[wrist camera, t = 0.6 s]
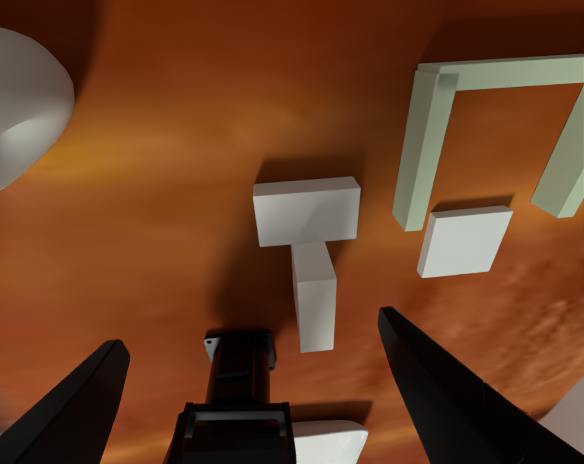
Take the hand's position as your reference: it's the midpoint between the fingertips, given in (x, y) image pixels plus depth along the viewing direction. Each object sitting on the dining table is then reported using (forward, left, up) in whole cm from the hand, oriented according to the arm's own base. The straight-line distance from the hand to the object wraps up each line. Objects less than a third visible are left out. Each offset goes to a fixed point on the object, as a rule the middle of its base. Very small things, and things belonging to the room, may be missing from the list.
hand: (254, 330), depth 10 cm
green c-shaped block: (+2, -16, -12) cm, 20 cm away
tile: (-6, -16, -13) cm, 21 cm away
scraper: (-5, -3, -12) cm, 13 cm away
